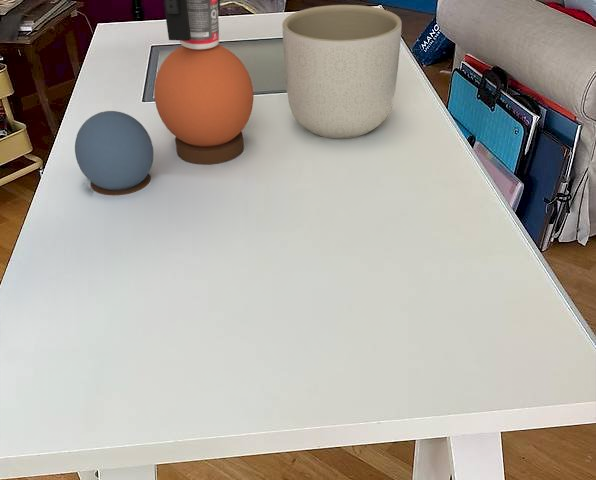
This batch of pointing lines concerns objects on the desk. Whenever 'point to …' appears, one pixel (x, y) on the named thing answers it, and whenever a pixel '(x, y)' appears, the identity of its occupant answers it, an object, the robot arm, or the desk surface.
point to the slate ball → (114, 153)
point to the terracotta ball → (204, 103)
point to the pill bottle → (202, 24)
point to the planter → (341, 67)
